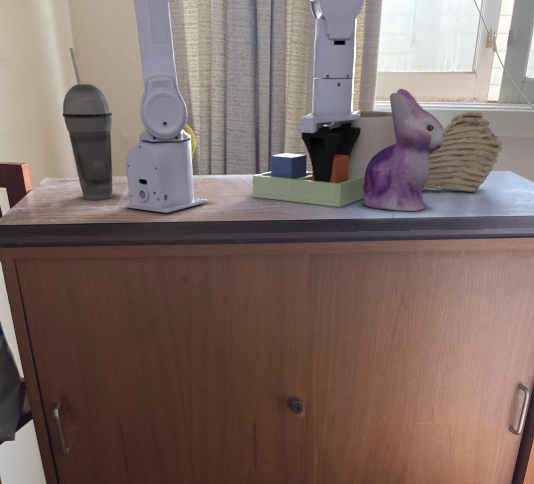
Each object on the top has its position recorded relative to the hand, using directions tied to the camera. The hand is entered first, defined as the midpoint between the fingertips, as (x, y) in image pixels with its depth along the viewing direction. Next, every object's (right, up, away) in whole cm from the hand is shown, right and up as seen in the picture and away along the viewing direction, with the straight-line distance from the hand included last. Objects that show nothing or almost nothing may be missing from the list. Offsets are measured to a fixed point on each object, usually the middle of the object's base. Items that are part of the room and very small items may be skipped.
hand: (329, 181), depth 103 cm
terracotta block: (0, -1, +1) cm, 1 cm away
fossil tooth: (+21, +2, +8) cm, 22 cm away
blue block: (-6, +1, +4) cm, 8 cm away
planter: (+5, +3, +10) cm, 12 cm away
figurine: (+10, -5, -3) cm, 11 cm away
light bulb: (-24, +4, +12) cm, 28 cm away
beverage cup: (-36, -1, +4) cm, 37 cm away
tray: (-3, -1, +3) cm, 5 cm away
